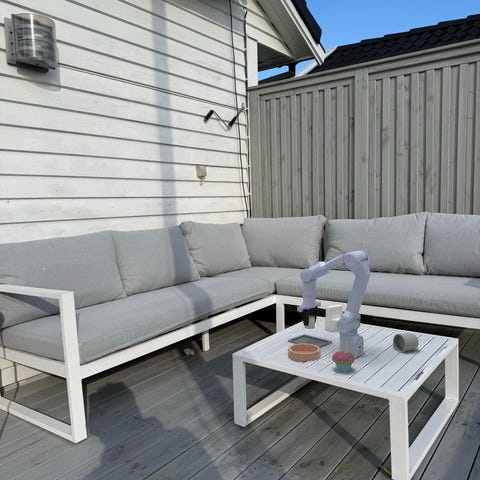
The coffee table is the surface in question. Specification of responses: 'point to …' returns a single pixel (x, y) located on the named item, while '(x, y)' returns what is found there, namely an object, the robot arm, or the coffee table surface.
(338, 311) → the grey white cylinder
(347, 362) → the cupcake
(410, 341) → the ceramic mug
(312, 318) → the smooth grey cylinder
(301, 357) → the terracotta bowl
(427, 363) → the coffee table surface
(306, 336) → the parts tray
